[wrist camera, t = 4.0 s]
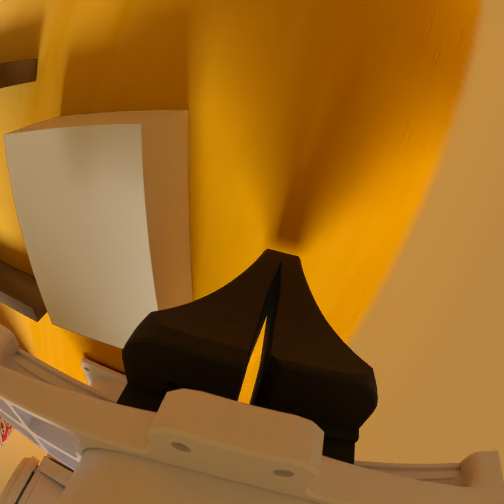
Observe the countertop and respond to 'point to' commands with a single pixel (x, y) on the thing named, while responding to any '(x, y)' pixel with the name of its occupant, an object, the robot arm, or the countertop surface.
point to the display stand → (3, 276)
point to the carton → (105, 216)
